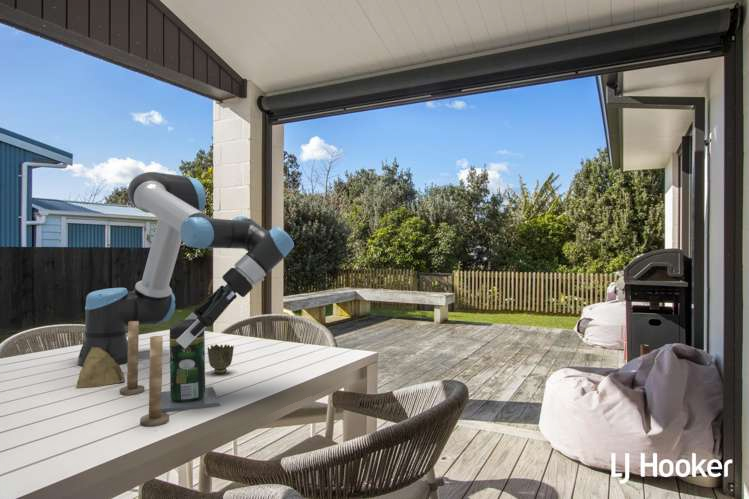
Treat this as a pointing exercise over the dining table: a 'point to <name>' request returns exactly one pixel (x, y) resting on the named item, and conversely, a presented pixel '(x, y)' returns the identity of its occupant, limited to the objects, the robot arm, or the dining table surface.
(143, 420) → the dowel
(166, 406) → the slate pad
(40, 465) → the dining table surface
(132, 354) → the dowel
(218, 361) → the cup
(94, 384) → the rock
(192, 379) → the coffee jar
